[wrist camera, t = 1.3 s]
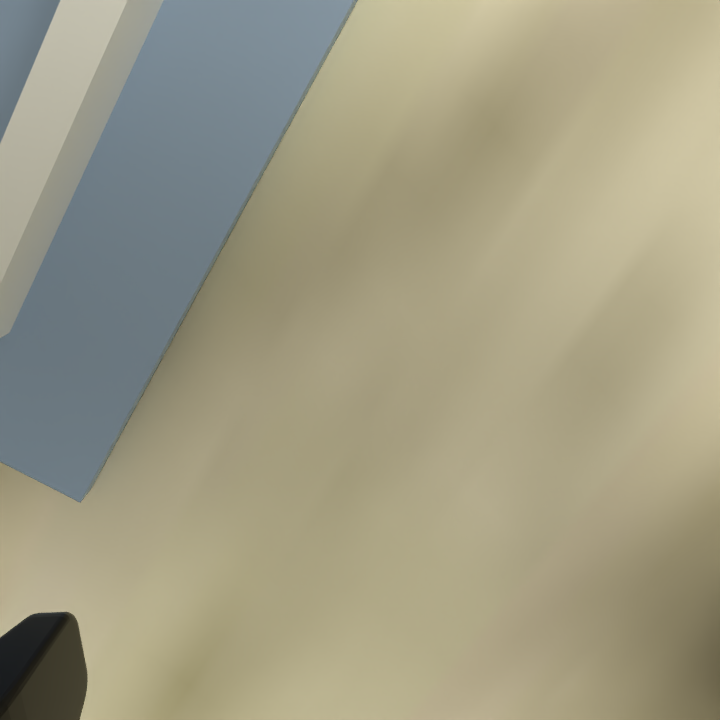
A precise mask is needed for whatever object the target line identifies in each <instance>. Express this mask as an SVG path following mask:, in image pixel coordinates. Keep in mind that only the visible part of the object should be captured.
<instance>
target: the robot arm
mask: <svg viewBox="0 0 720 720" xmlns="http://www.w3.org/2000/svg"><path fill="white" fill-rule="evenodd" d="M86 691H87V668H86V663H85V658H84V653H83V648H82V642H81V637H80V632H79V627H78V623H77V620H76V618H75V616H74V615H73V614H71V613H69V612H52V613H37V614H33V615H30V616H29V617H27V618H26V619H24V620H23V621H22V622H20V623H19V624H18V625H16V626H15V627H14V628H12V629H11V630H10V631H8V632H7V633H6V634H4V635H3V636H2V637H0V720H80V716H81V712H82V708H83V705H84V701H85V696H86Z"/></svg>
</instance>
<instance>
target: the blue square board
mask: <svg viewBox="0 0 720 720" xmlns="http://www.w3.org/2000/svg"><path fill="white" fill-rule="evenodd" d="M357 1H358V0H0V462H2V463H4V464H6V465H8V466H10V467H11V468H13V469H15V470H17V471H19V472H21V473H23V474H25V475H27V476H29V477H31V478H33V479H35V480H37V481H39V482H41V483H43V484H45V485H47V486H49V487H51V488H53V489H55V490H57V491H59V492H61V493H63V494H65V495H66V496H68V497H70V498H72V499H74V500H76V501H78V502H81V501H82V500H83V498H84V497H85V496H86V495H87V493H88V492H89V491H90V489H91V488H92V486H93V484H94V482H95V480H96V479H97V477H98V475H99V473H100V471H101V469H102V468H103V466H104V464H105V462H106V460H107V458H108V457H109V455H110V453H111V451H112V449H113V447H114V446H115V444H116V442H117V440H118V438H119V436H120V435H121V433H122V431H123V429H124V427H125V425H126V424H127V422H128V420H129V418H130V416H131V415H132V413H133V411H134V409H135V407H136V405H137V404H138V402H139V400H140V398H141V396H142V394H143V393H144V391H145V389H146V387H147V385H148V383H149V382H150V380H151V378H152V376H153V374H154V372H155V371H156V369H157V367H158V365H159V363H160V361H161V360H162V358H163V356H164V354H165V352H166V350H167V349H168V347H169V345H170V343H171V341H172V339H173V338H174V336H175V334H176V332H177V330H178V328H179V327H180V325H181V323H182V321H183V319H184V317H185V316H186V314H187V312H188V310H189V308H190V306H191V305H192V303H193V301H194V299H195V297H196V295H197V294H198V292H199V290H200V288H201V286H202V284H203V283H204V281H205V279H206V277H207V275H208V273H209V272H210V270H211V268H212V266H213V264H214V263H215V261H216V259H217V257H218V255H219V253H220V252H221V250H222V248H223V246H224V244H225V242H226V241H227V239H228V237H229V235H230V233H231V231H232V230H233V228H234V226H235V224H236V222H237V220H238V219H239V217H240V215H241V213H242V211H243V209H244V208H245V206H246V204H247V202H248V200H249V198H250V197H251V195H252V193H253V191H254V189H255V187H256V186H257V184H258V182H259V180H260V178H261V176H262V175H263V173H264V171H265V169H266V167H267V165H268V164H269V162H270V160H271V158H272V156H273V154H274V153H275V151H276V149H277V147H278V145H279V143H280V142H281V140H282V138H283V136H284V134H285V132H286V131H287V129H288V127H289V125H290V123H291V122H292V120H293V118H294V116H295V114H296V112H297V111H298V109H299V107H300V105H301V103H302V101H303V100H304V98H305V96H306V94H307V92H308V90H309V89H310V87H311V85H312V83H313V81H314V79H315V78H316V76H317V74H318V72H319V70H320V68H321V67H322V65H323V63H324V61H325V59H326V57H327V56H328V54H329V52H330V50H331V48H332V46H333V45H334V43H335V41H336V39H337V37H338V35H339V34H340V32H341V30H342V28H343V26H344V24H345V23H346V21H347V19H348V17H349V15H350V13H351V12H352V10H353V8H354V6H355V4H356V2H357Z"/></svg>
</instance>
